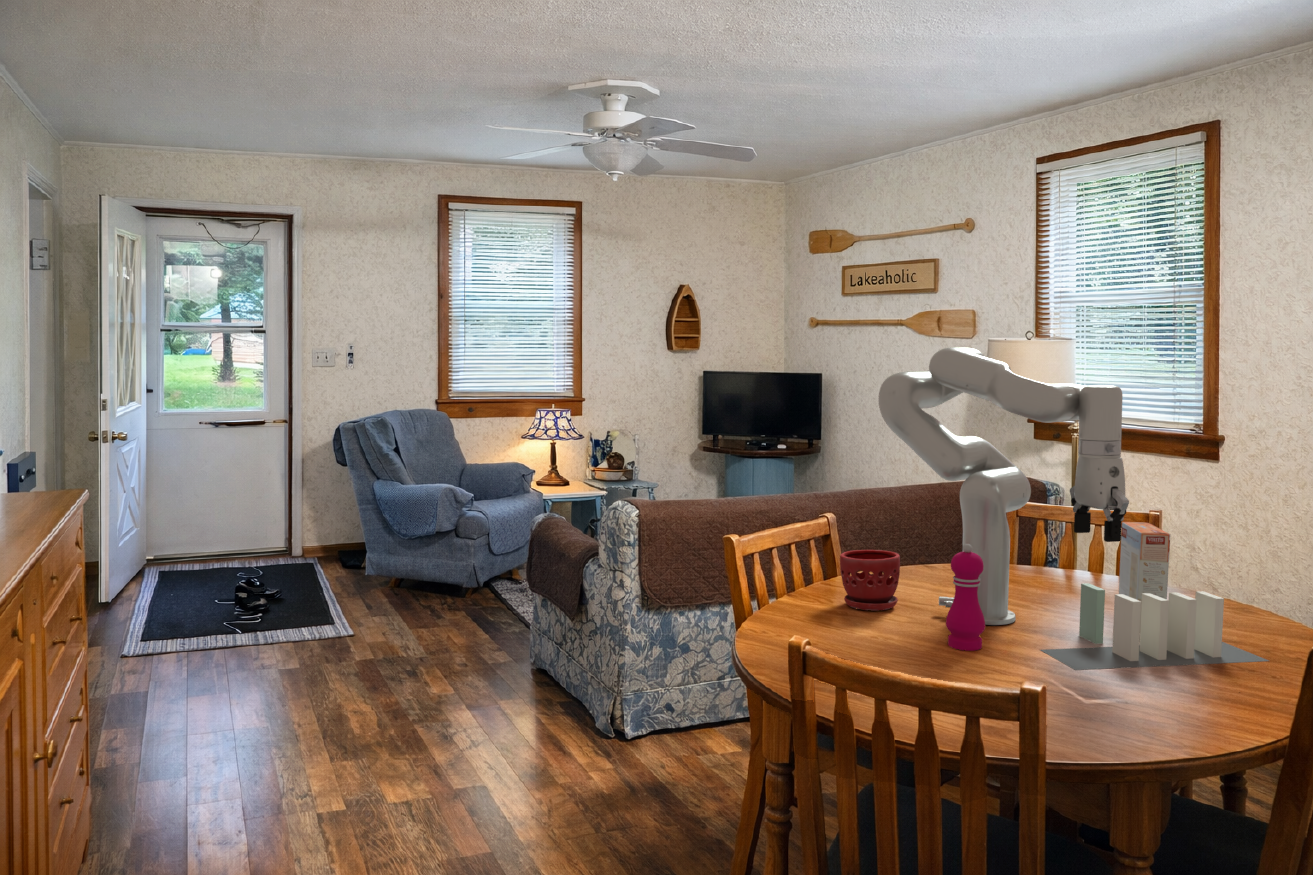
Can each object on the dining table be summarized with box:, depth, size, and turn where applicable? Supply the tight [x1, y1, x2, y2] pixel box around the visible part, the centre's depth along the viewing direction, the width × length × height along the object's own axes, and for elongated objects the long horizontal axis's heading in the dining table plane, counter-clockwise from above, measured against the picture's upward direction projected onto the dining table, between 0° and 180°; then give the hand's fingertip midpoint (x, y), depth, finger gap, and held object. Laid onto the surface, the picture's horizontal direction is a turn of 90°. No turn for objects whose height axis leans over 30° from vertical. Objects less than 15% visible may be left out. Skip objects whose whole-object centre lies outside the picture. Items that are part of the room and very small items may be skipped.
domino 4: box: [1194, 590, 1225, 657], centre depth 182 cm, size 2×6×11 cm, turn 8°
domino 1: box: [1112, 593, 1141, 661], centre depth 180 cm, size 2×6×11 cm, turn 8°
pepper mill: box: [945, 544, 986, 652], centre depth 188 cm, size 7×7×20 cm
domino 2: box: [1139, 593, 1169, 660], centre depth 181 cm, size 2×6×11 cm, turn 8°
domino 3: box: [1167, 591, 1197, 659], centre depth 182 cm, size 2×6×11 cm, turn 8°
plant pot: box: [839, 549, 901, 612], centre depth 218 cm, size 13×13×12 cm
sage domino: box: [1078, 582, 1106, 645], centre depth 191 cm, size 2×6×11 cm, turn 8°
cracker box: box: [1118, 521, 1171, 626], centre depth 201 cm, size 14×6×21 cm, turn 168°
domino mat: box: [1040, 641, 1270, 671], centre depth 181 cm, size 38×12×1 cm, turn 98°
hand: (1096, 536), depth 190 cm, fingers open, 9 cm apart
